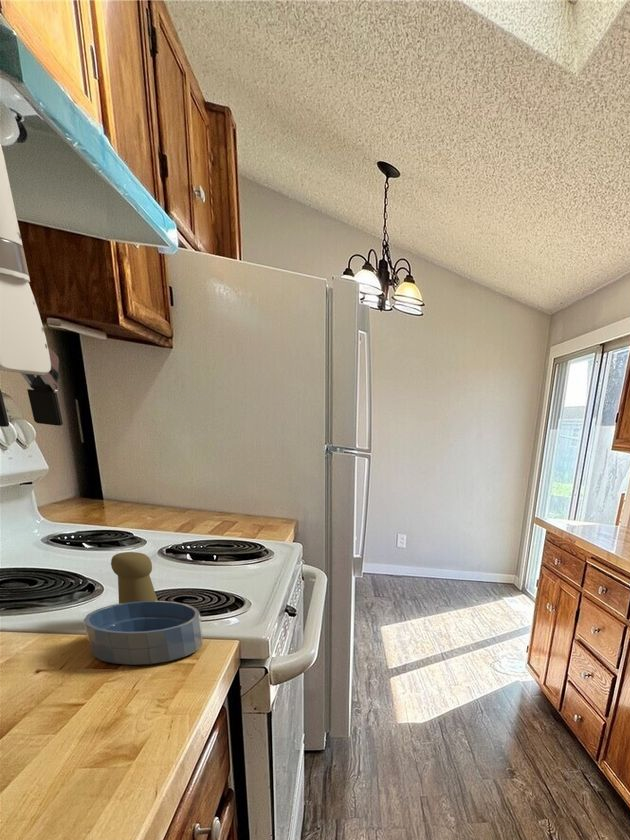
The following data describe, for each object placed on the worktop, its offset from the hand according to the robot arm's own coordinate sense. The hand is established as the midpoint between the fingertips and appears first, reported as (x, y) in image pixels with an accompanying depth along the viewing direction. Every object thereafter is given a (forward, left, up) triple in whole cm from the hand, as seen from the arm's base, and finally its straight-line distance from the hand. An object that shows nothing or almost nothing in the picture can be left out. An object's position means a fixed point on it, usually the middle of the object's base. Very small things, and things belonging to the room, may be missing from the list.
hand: (23, 424), depth 69 cm
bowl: (+12, -3, -28) cm, 31 cm away
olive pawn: (+6, +7, -28) cm, 30 cm away
